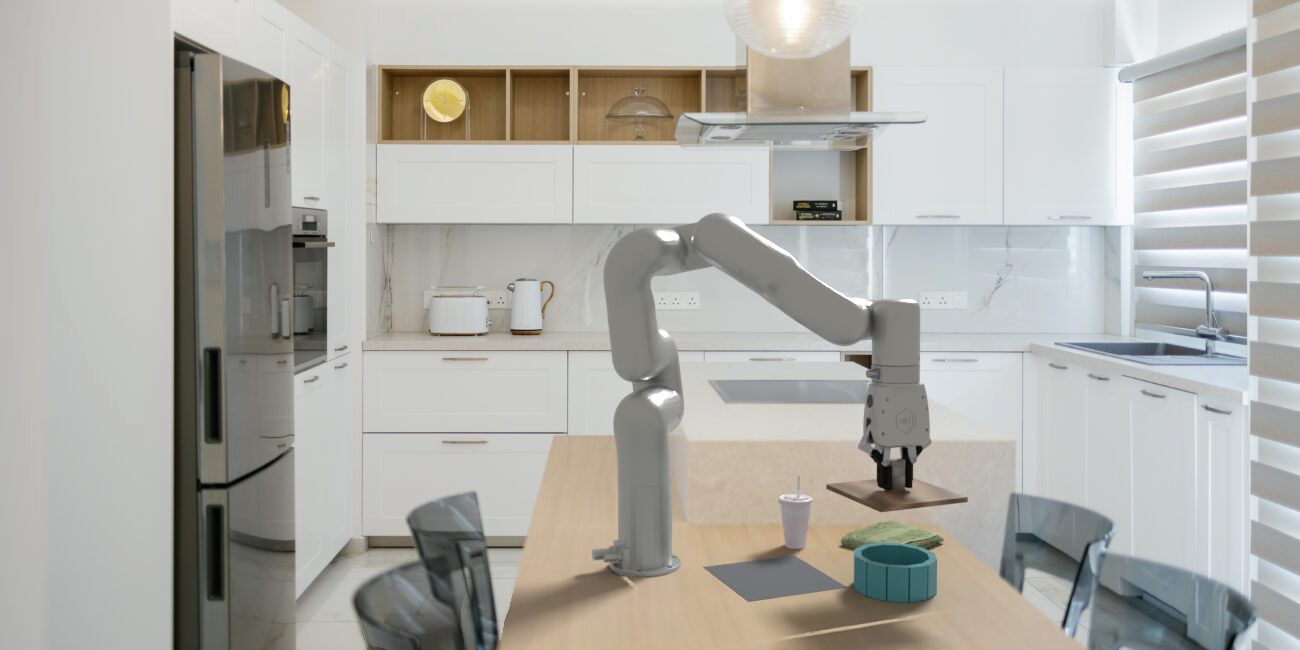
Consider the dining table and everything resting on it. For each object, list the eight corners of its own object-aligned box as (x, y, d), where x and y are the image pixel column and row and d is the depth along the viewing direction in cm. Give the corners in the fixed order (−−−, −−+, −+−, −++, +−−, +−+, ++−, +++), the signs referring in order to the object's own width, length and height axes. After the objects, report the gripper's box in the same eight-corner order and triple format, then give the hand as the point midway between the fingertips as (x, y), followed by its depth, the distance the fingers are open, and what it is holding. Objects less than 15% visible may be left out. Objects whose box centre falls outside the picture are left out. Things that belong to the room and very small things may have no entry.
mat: (748, 604, 149) (748, 601, 149) (703, 569, 166) (703, 567, 166) (847, 590, 155) (847, 587, 155) (794, 557, 172) (794, 555, 172)
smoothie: (812, 554, 174) (812, 479, 173) (777, 552, 175) (777, 478, 174) (813, 544, 180) (813, 471, 179) (779, 542, 182) (779, 470, 181)
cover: (880, 512, 144) (881, 474, 143) (826, 488, 159) (826, 454, 158) (967, 502, 149) (968, 465, 149) (907, 480, 164) (907, 447, 164)
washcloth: (947, 545, 181) (947, 528, 181) (894, 565, 169) (894, 548, 169) (888, 530, 190) (888, 515, 190) (834, 549, 179) (835, 532, 178)
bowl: (883, 609, 147) (883, 571, 146) (838, 582, 159) (839, 547, 158) (952, 598, 151) (953, 561, 151) (904, 573, 163) (904, 539, 163)
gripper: (864, 380, 146) (864, 497, 147) (952, 375, 152) (951, 488, 153) (839, 375, 153) (838, 487, 154) (924, 370, 159) (923, 478, 160)
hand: (894, 486), depth 154 cm, fingers closed on cover, 3 cm apart
